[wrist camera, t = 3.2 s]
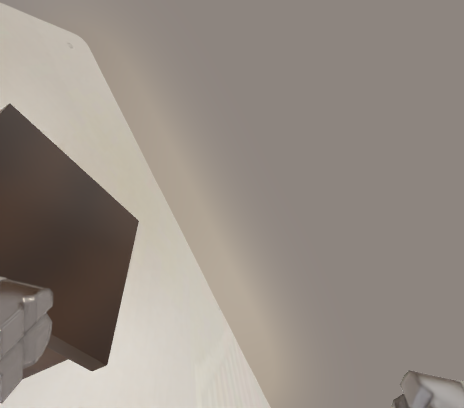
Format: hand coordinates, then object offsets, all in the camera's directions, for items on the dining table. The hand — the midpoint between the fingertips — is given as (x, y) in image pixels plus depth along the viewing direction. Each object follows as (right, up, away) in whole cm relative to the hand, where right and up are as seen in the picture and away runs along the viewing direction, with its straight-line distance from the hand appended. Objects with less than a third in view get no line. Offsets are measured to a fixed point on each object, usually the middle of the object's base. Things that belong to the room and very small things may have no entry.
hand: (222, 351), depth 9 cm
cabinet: (-24, -4, +24) cm, 34 cm away
